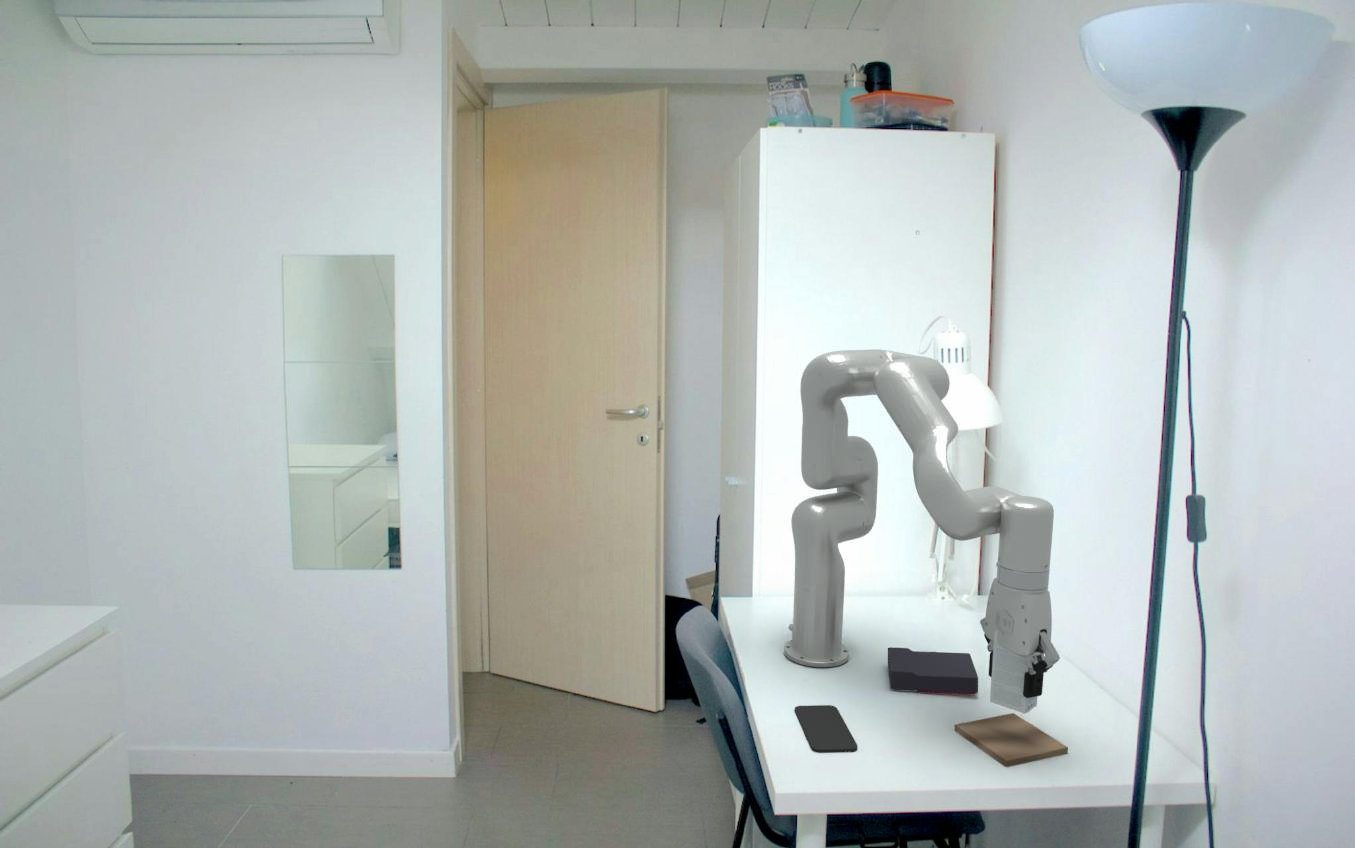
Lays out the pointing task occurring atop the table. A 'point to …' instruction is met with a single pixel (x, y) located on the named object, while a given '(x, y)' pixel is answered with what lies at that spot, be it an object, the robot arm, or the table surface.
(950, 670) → the dark gray stepped block
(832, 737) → the phone
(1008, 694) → the skincare box
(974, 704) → the table surface
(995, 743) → the walnut pad
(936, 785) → the table surface
